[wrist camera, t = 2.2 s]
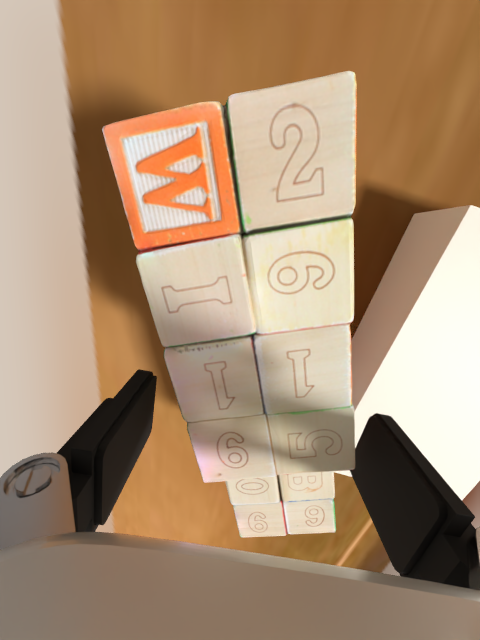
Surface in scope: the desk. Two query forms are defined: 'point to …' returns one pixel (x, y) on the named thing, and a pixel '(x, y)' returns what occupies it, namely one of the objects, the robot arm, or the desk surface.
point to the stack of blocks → (253, 286)
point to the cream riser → (427, 344)
